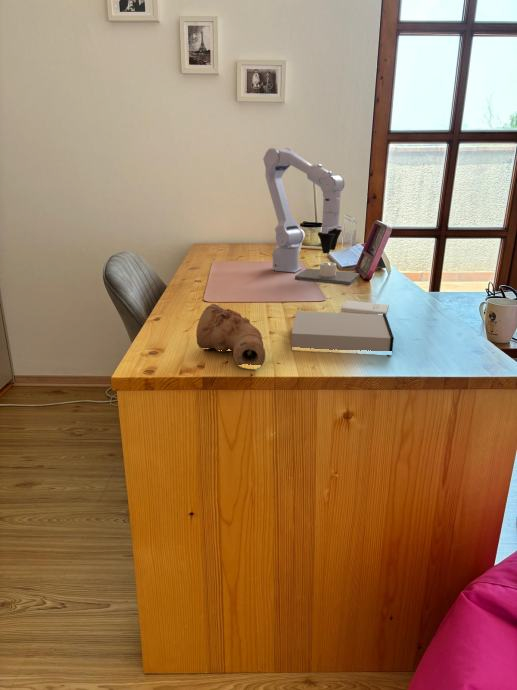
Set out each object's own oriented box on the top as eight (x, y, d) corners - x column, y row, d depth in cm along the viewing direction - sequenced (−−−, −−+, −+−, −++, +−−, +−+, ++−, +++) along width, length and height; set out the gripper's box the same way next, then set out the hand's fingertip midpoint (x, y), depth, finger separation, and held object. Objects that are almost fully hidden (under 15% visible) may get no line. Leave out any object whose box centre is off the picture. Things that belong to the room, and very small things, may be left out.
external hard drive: (346, 305, 152) (388, 309, 148) (341, 313, 144) (385, 317, 141) (346, 300, 151) (389, 303, 147) (341, 307, 144) (386, 311, 140)
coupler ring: (333, 277, 179) (334, 266, 178) (318, 275, 181) (318, 264, 180) (337, 273, 184) (338, 263, 182) (322, 272, 186) (322, 261, 184)
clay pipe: (253, 355, 122) (193, 337, 120) (266, 314, 119) (205, 295, 117) (256, 386, 105) (185, 366, 102) (272, 340, 101) (200, 318, 99)
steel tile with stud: (295, 279, 180) (295, 264, 178) (307, 271, 192) (307, 257, 191) (350, 284, 173) (351, 269, 171) (359, 276, 185) (360, 261, 183)
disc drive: (392, 358, 112) (394, 337, 111) (291, 353, 115) (291, 332, 113) (384, 332, 129) (385, 313, 127) (295, 328, 131) (296, 309, 130)
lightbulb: (304, 252, 229) (305, 227, 225) (304, 254, 223) (305, 229, 219) (290, 252, 229) (291, 227, 225) (290, 254, 224) (291, 229, 220)
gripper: (337, 214, 167) (334, 255, 172) (347, 210, 179) (344, 248, 184) (316, 213, 169) (314, 254, 174) (328, 209, 182) (326, 247, 187)
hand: (328, 251), depth 179 cm, fingers open, 7 cm apart
